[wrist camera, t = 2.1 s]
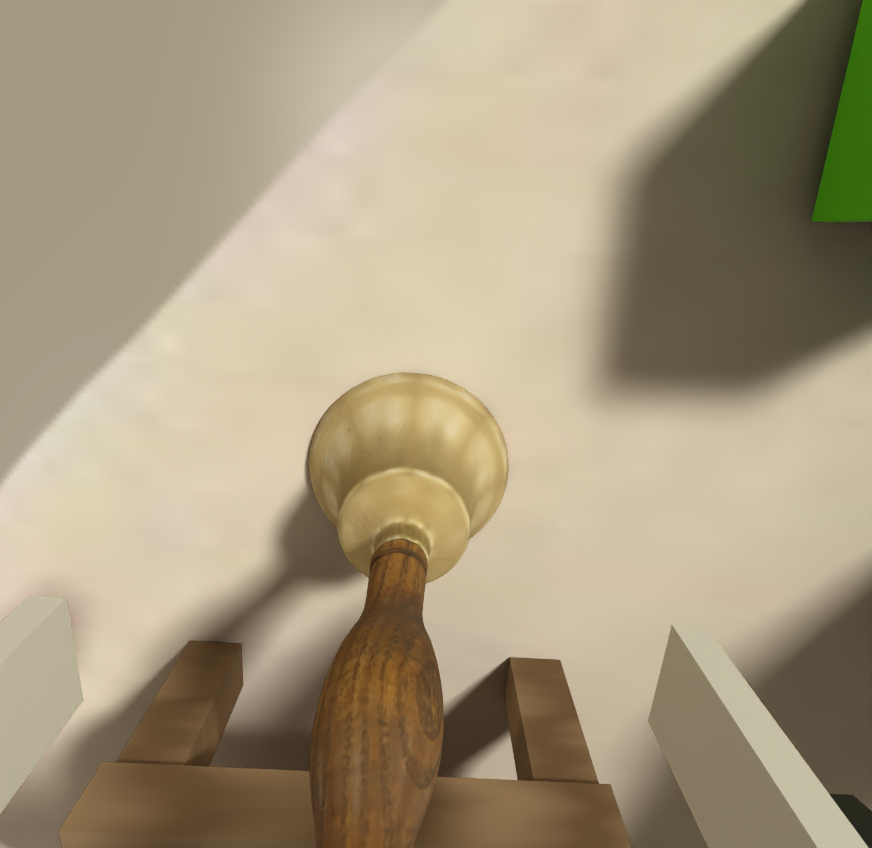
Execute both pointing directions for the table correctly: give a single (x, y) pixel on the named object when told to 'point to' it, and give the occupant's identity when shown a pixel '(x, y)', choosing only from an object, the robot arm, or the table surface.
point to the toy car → (851, 138)
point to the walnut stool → (290, 789)
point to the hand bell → (394, 592)
